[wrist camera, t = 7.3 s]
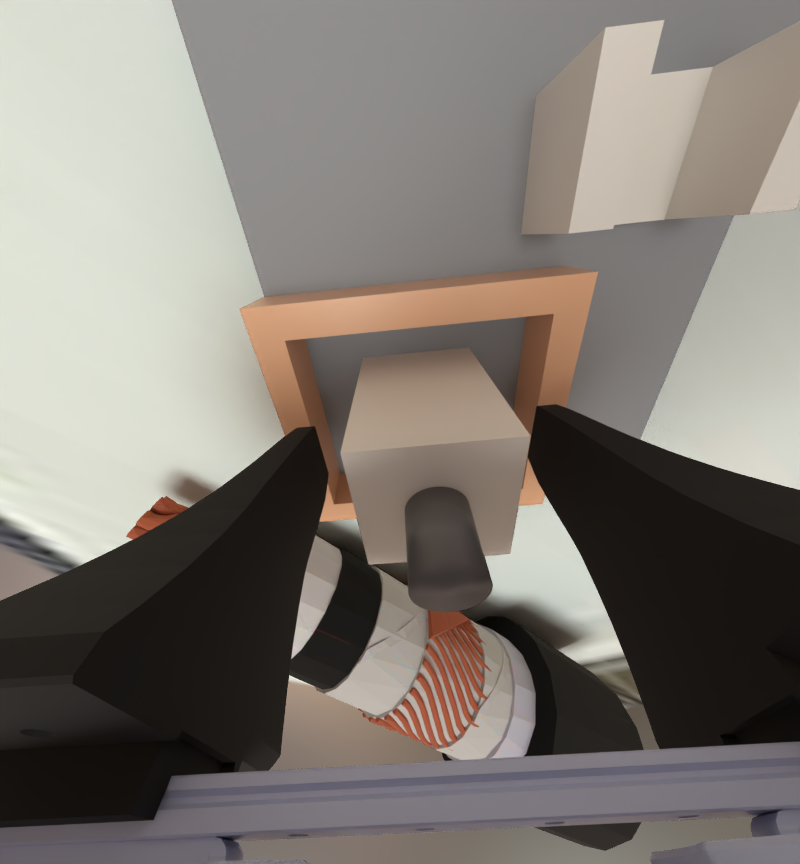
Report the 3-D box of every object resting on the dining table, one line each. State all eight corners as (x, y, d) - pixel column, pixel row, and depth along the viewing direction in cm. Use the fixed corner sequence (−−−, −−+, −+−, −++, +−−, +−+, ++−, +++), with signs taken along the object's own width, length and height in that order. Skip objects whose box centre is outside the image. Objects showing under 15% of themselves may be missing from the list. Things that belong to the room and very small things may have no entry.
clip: (735, 71, 8) (908, -12, 5) (685, 216, 9) (795, 208, 7) (536, 96, 8) (605, 27, 5) (521, 234, 9) (568, 233, 7)
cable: (243, 419, 19) (163, 451, 9) (561, 637, 29) (683, 763, 19) (139, 547, 19) (-58, 719, 9) (497, 725, 28) (590, 901, 19)
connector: (468, 346, 11) (581, 508, 5) (465, 435, 13) (539, 632, 7) (363, 357, 11) (321, 530, 5) (377, 443, 14) (362, 644, 7)
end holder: (563, 265, 10) (598, 271, 8) (525, 473, 15) (542, 503, 13) (264, 297, 10) (239, 308, 8) (324, 490, 15) (316, 522, 13)
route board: (1328, -1429, 3) (1712, -2114, 2) (610, 467, 16) (622, 480, 15) (-123, -1059, 3) (-293, -1486, 3) (332, 490, 16) (329, 504, 16)
